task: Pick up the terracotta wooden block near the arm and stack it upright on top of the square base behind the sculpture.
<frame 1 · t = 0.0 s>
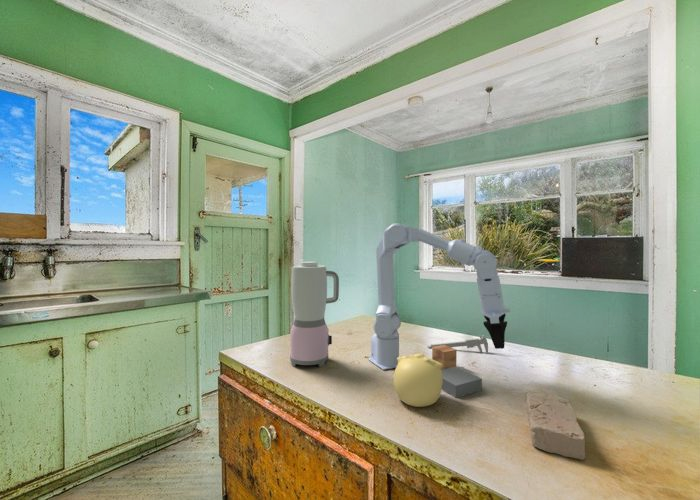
hand: (499, 343, 85), 11 cm above the counter, tool pointing down, fingers open, 7 cm apart
blender: (314, 362, 100), on the counter
sculpture: (417, 400, 76), on the counter
base: (456, 386, 82), on the counter
brick: (551, 433, 63), on the counter
caliper: (456, 351, 110), on the counter
block: (444, 367, 95), on the counter
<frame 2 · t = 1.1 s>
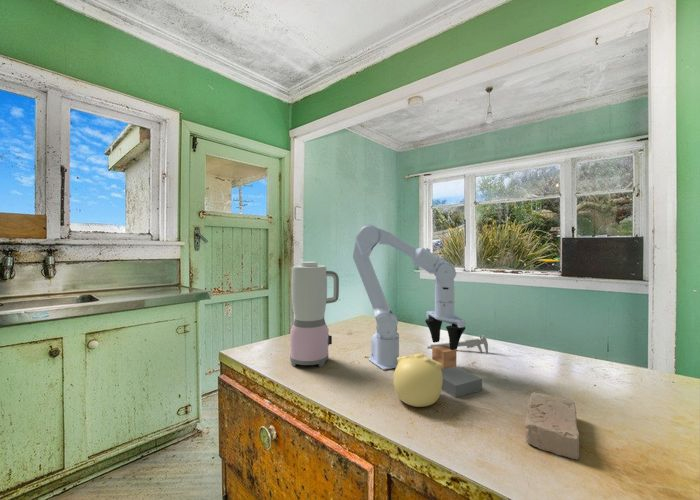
hand: (444, 345, 95), 7 cm above the counter, tool pointing down, fingers open, 7 cm apart
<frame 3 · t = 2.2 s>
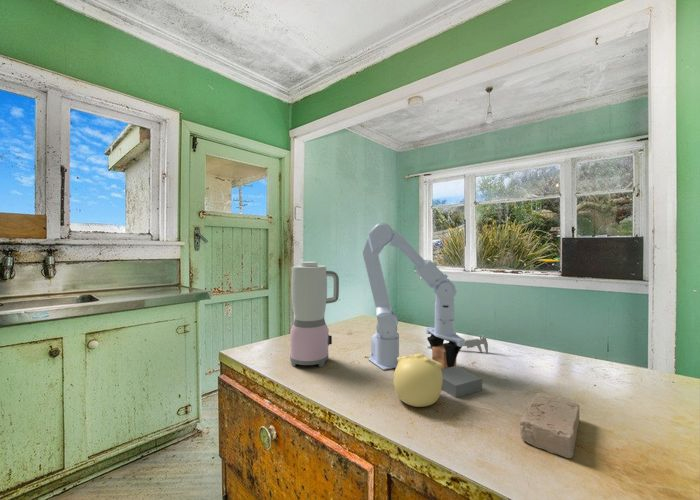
hand: (444, 363, 95), 1 cm above the counter, tool pointing down, fingers closed on block, 5 cm apart
block: (444, 367, 95), on the counter, touching gripper
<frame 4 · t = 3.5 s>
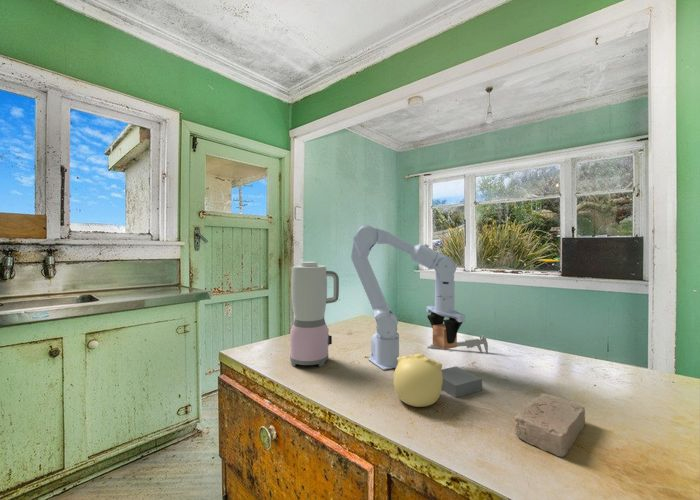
hand: (444, 340, 95), 8 cm above the counter, tool pointing down, fingers closed on block, 5 cm apart
block: (444, 345, 95), point 7 cm above the counter, touching gripper
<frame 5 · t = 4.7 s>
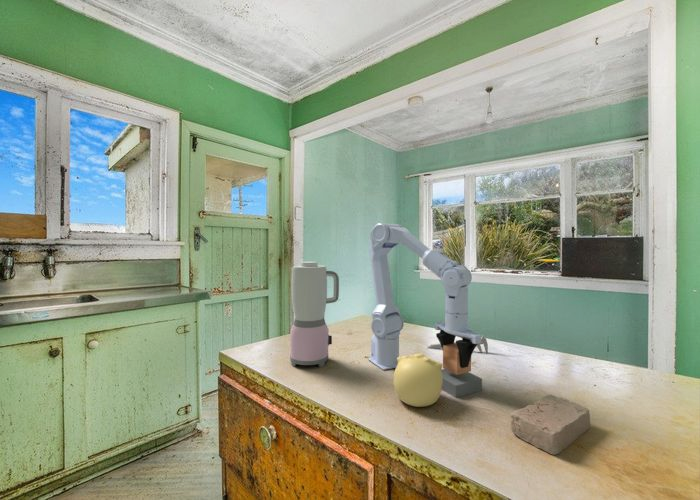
hand: (456, 363, 82), 6 cm above the counter, tool pointing down, fingers closed on block, 5 cm apart
block: (456, 369, 82), point 4 cm above the counter, touching gripper
when the fingers open (6 cm above the counter, at t = 5.2 s): block drops 1 cm, resting on base.
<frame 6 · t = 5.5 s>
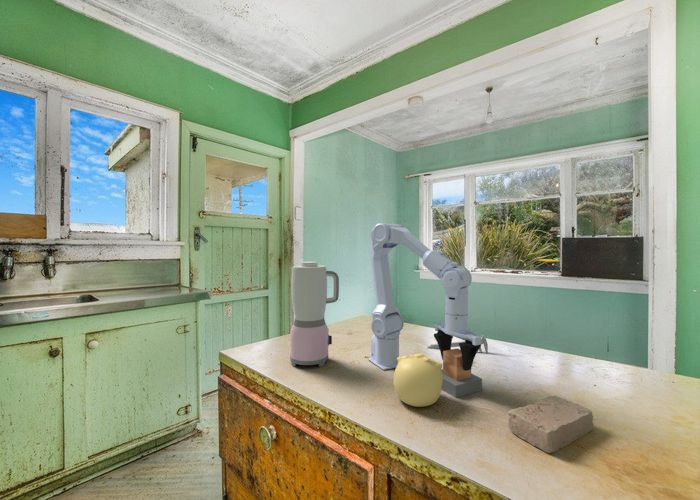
hand: (456, 364, 82), 6 cm above the counter, tool pointing down, fingers open, 7 cm apart
block: (456, 375, 82), point 3 cm above the counter, touching base
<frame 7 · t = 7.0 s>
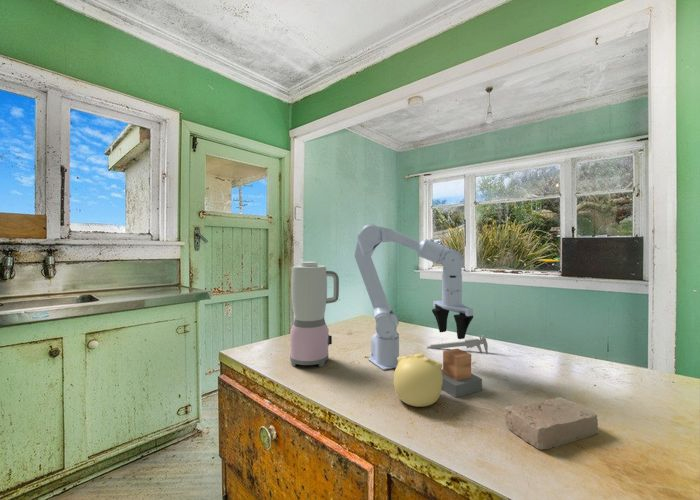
hand: (451, 335, 93), 10 cm above the counter, tool pointing down, fingers open, 7 cm apart
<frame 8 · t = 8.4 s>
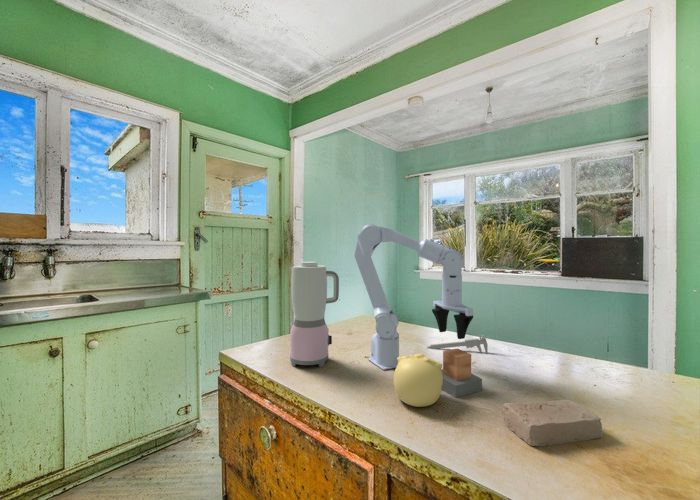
hand: (451, 335, 93), 10 cm above the counter, tool pointing down, fingers open, 7 cm apart
at the end: block 0.2 cm off-centre on the base, point 3.0 cm above the base's base; block tilted 0°; block touching base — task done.
